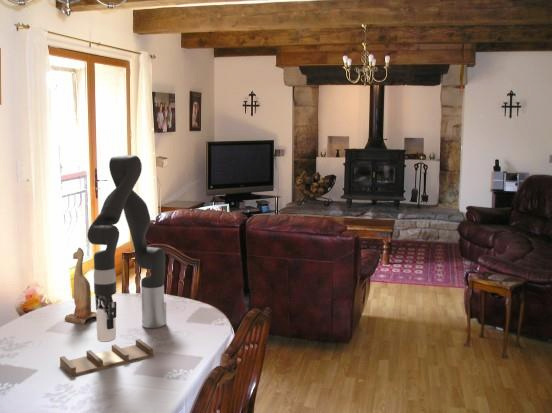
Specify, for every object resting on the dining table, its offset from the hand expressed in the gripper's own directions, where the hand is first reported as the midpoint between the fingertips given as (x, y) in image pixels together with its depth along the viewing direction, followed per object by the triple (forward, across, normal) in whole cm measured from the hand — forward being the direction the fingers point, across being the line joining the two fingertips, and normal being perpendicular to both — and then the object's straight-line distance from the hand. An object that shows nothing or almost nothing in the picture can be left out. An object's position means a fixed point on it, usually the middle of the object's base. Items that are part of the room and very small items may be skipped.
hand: (106, 325), depth 219 cm
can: (+5, 0, 0) cm, 5 cm away
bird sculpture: (+13, +49, -9) cm, 52 cm away
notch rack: (+13, 0, 0) cm, 13 cm away
